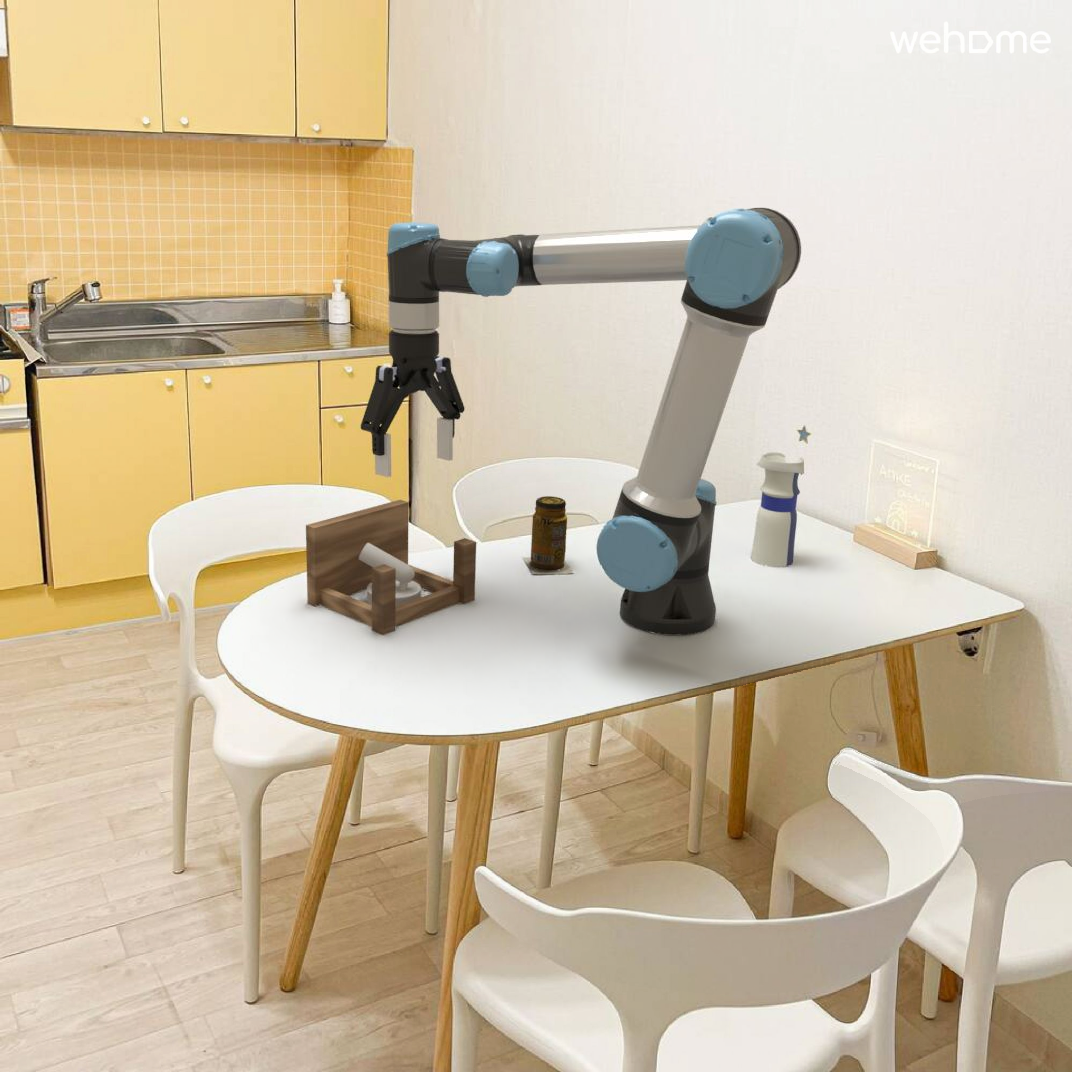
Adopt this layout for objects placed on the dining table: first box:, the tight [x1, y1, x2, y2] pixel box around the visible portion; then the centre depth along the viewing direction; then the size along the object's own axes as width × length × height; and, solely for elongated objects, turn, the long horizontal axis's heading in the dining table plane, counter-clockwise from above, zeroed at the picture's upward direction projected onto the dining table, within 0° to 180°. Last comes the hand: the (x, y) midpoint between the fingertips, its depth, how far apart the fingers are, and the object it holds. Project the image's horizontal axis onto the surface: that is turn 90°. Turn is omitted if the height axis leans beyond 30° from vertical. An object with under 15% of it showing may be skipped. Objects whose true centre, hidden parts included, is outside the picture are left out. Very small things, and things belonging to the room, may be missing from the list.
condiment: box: [522, 495, 574, 575], centre depth 202 cm, size 7×8×12 cm
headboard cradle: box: [305, 499, 477, 636], centre depth 183 cm, size 18×20×13 cm
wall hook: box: [359, 543, 422, 606], centre depth 183 cm, size 9×10×10 cm
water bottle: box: [750, 424, 812, 568], centre depth 208 cm, size 8×8×25 cm
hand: (414, 467), depth 180 cm, fingers open, 13 cm apart
